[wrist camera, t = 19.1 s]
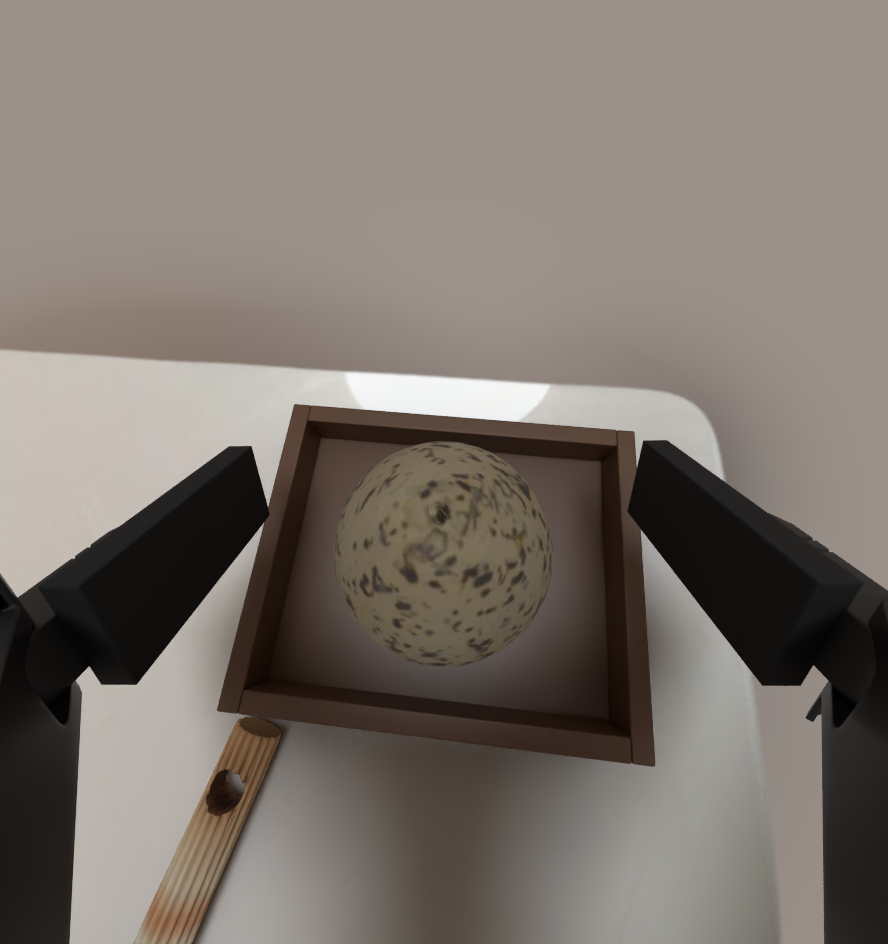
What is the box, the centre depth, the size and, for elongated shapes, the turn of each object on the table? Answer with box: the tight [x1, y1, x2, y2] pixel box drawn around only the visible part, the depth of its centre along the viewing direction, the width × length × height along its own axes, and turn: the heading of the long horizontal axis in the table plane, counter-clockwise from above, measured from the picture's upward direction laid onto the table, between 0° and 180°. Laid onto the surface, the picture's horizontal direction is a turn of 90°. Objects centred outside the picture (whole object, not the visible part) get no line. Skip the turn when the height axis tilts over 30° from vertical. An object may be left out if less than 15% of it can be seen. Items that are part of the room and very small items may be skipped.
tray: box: [217, 404, 655, 767], centre depth 17 cm, size 16×13×3 cm
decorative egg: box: [334, 441, 553, 667], centre depth 12 cm, size 7×7×10 cm
